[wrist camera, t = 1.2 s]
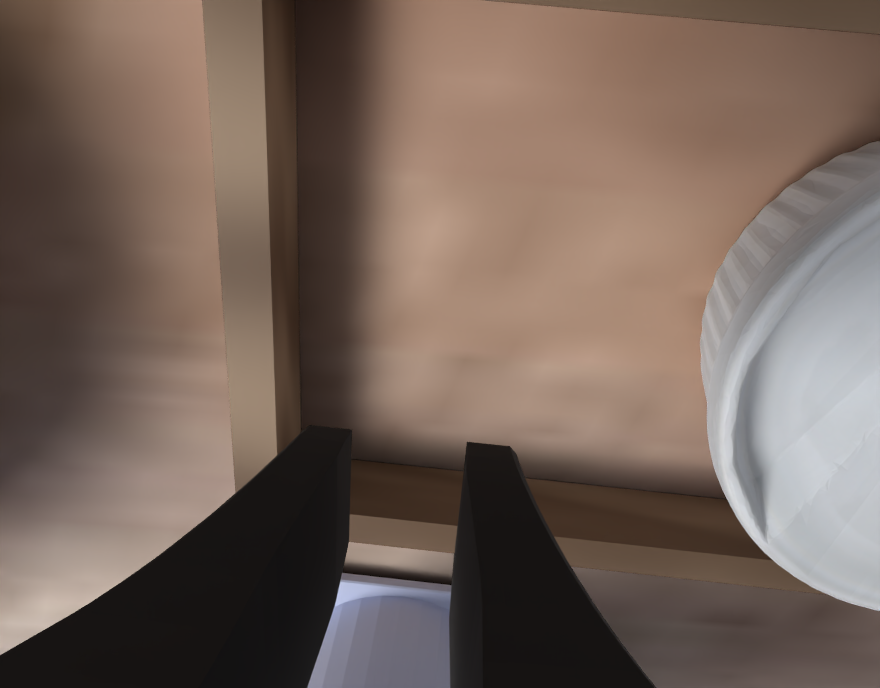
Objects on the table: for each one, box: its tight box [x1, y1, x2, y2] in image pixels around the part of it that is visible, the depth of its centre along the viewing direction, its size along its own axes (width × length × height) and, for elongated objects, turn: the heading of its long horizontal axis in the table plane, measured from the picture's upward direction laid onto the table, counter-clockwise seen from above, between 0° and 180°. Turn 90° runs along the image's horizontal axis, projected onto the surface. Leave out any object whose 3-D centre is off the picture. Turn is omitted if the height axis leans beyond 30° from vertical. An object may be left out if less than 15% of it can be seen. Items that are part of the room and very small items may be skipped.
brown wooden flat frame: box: [202, 0, 880, 595], centre depth 17 cm, size 15×23×2 cm, turn 85°
